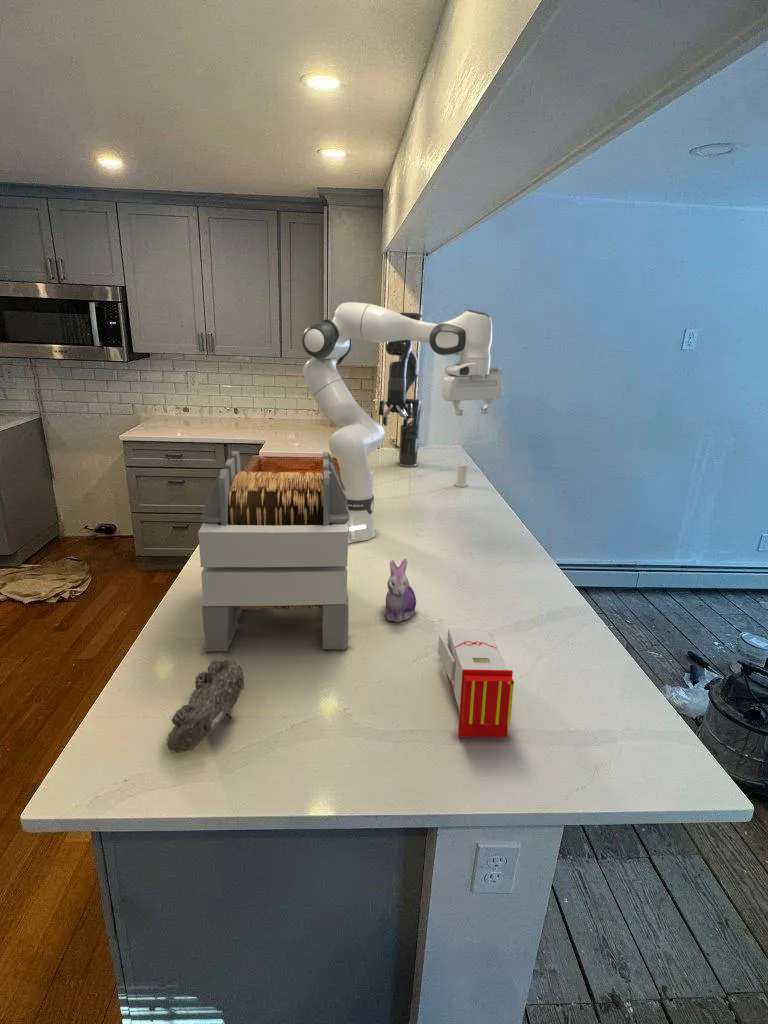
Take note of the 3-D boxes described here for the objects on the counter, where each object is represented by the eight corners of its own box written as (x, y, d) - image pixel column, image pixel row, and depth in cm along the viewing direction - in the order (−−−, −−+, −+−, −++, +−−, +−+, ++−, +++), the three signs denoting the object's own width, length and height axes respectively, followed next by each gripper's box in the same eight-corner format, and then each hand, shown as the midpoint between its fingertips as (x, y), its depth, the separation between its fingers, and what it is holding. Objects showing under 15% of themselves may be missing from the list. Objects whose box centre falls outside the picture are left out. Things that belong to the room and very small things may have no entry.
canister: (466, 487, 256) (468, 466, 253) (456, 486, 256) (458, 466, 253) (465, 484, 261) (467, 463, 257) (455, 483, 261) (457, 463, 257)
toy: (488, 613, 130) (523, 677, 101) (484, 667, 133) (517, 744, 104) (435, 612, 130) (455, 676, 101) (432, 666, 133) (451, 743, 103)
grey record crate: (225, 584, 158) (217, 441, 145) (342, 583, 162) (345, 443, 148) (202, 654, 127) (189, 479, 113) (348, 650, 131) (352, 481, 117)
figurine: (392, 627, 141) (395, 572, 136) (374, 608, 149) (376, 556, 144) (425, 619, 145) (429, 566, 140) (405, 601, 154) (408, 550, 149)
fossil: (192, 660, 117) (244, 628, 112) (224, 691, 120) (276, 661, 115) (142, 746, 98) (202, 712, 93) (182, 779, 101) (242, 748, 96)
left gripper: (496, 366, 176) (493, 410, 181) (440, 368, 168) (438, 414, 172) (509, 368, 171) (505, 413, 175) (452, 369, 162) (449, 418, 167)
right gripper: (416, 388, 235) (413, 427, 241) (384, 385, 240) (382, 423, 245) (410, 390, 229) (408, 430, 234) (377, 387, 233) (376, 426, 239)
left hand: (471, 414), depth 174 cm, fingers open, 8 cm apart
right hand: (395, 426), depth 240 cm, fingers open, 8 cm apart
